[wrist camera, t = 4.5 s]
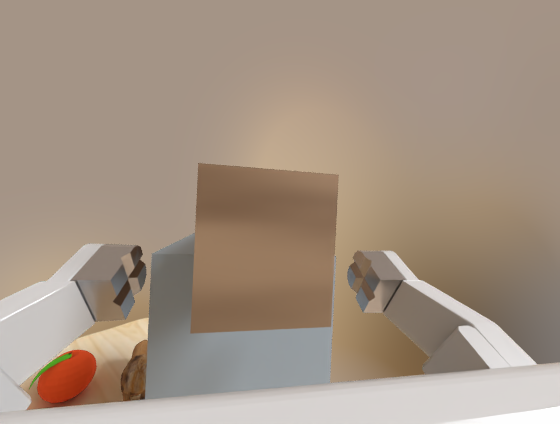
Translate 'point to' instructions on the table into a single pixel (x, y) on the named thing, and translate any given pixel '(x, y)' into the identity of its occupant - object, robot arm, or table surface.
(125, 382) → the lion figurine
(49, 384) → the clementine
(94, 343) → the table surface
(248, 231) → the bar
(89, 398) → the table surface
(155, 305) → the stand
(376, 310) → the robot arm
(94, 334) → the table surface
